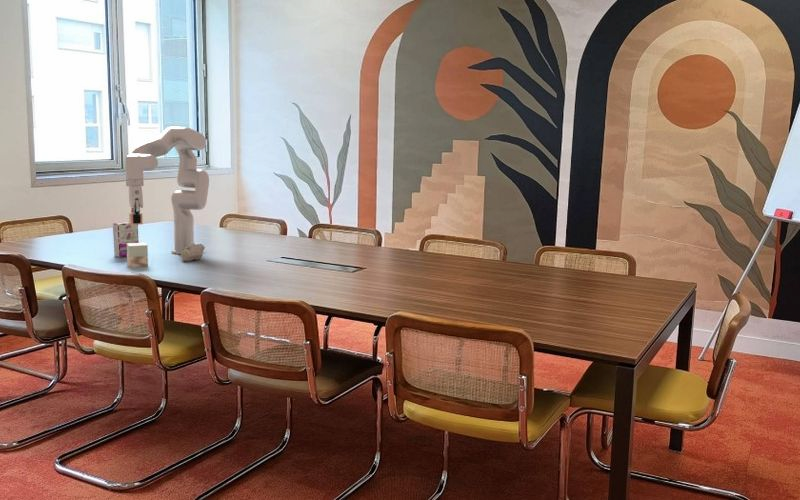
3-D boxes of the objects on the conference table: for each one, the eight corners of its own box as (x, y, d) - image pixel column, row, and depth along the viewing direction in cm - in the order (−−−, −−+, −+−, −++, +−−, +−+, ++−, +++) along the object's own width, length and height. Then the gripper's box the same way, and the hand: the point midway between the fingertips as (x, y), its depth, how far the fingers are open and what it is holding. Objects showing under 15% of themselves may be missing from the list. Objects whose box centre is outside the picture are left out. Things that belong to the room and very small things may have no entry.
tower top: (145, 253, 365) (144, 242, 364) (147, 255, 358) (147, 245, 357) (127, 254, 362) (126, 243, 361) (129, 256, 355) (129, 246, 354)
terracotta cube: (140, 222, 361) (140, 212, 360) (142, 224, 356) (142, 213, 355) (129, 223, 358) (129, 212, 358) (131, 224, 354) (130, 213, 353)
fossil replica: (175, 261, 373) (194, 265, 370) (175, 245, 371) (194, 248, 368) (189, 255, 384) (207, 259, 381) (189, 239, 382) (208, 242, 379)
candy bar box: (133, 253, 391) (132, 221, 388) (139, 254, 388) (138, 221, 385) (113, 256, 382) (112, 223, 379) (119, 257, 379) (118, 224, 376)
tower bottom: (145, 263, 366) (144, 253, 365) (147, 266, 359) (147, 256, 358) (127, 264, 362) (126, 254, 362) (129, 267, 355) (129, 257, 355)
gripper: (146, 184, 349) (147, 224, 352) (140, 181, 364) (141, 219, 366) (128, 184, 345) (130, 225, 348) (123, 181, 360) (124, 220, 363)
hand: (136, 222), depth 357 cm, fingers closed on terracotta cube, 4 cm apart
